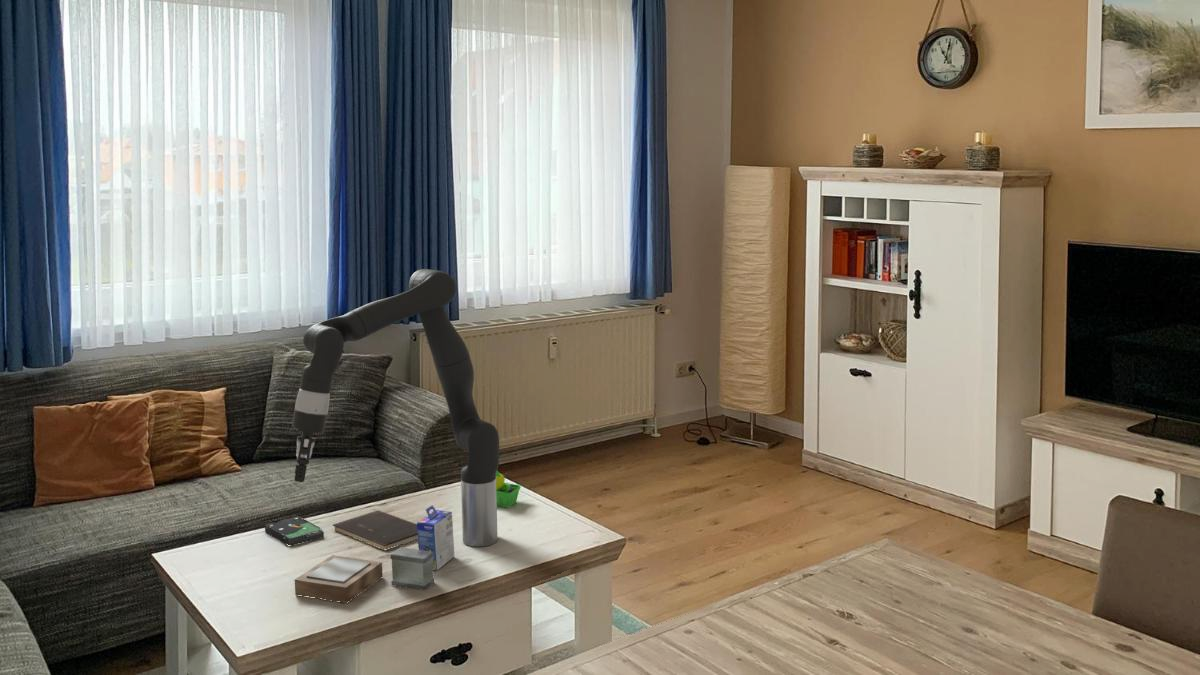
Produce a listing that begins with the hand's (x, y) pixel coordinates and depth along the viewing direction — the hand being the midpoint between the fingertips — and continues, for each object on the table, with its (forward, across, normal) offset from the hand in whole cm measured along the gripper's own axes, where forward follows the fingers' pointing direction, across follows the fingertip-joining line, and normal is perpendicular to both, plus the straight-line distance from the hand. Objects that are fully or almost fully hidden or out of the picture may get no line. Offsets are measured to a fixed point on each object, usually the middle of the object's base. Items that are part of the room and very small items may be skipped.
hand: (299, 478), depth 253 cm
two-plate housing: (+22, 0, -31) cm, 38 cm away
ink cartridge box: (+19, +12, -37) cm, 44 cm away
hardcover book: (+20, +37, -25) cm, 49 cm away
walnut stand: (+25, +3, -14) cm, 29 cm away
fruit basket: (+10, +52, -59) cm, 79 cm away
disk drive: (+24, +42, -3) cm, 49 cm away
